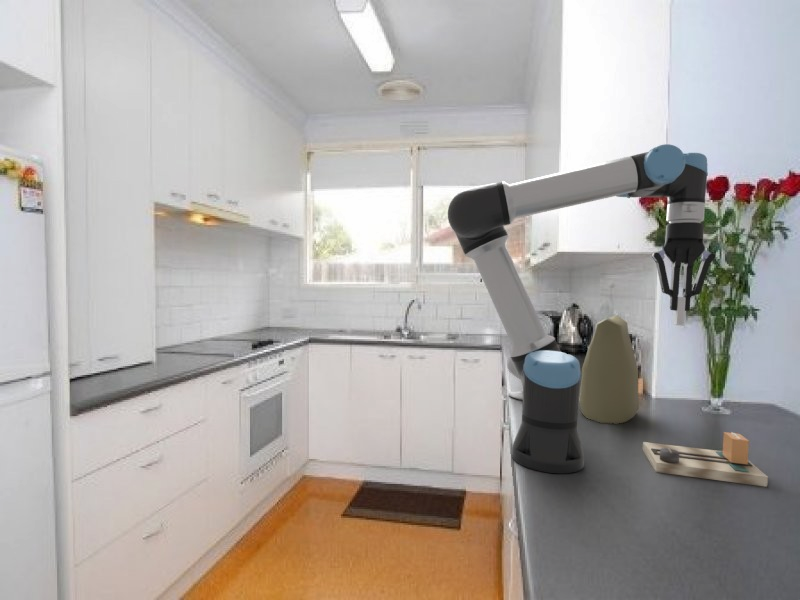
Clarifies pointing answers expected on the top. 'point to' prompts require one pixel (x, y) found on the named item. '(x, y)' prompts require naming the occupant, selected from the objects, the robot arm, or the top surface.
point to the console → (701, 464)
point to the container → (609, 374)
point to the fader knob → (735, 448)
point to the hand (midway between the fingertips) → (678, 324)
